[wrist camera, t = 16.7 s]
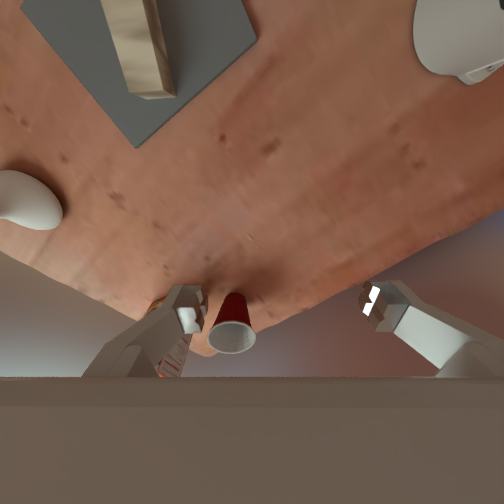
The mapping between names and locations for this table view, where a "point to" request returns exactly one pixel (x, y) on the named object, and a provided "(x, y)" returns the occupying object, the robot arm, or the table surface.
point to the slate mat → (177, 47)
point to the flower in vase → (28, 201)
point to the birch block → (140, 47)
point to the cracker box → (171, 351)
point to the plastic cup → (232, 327)
